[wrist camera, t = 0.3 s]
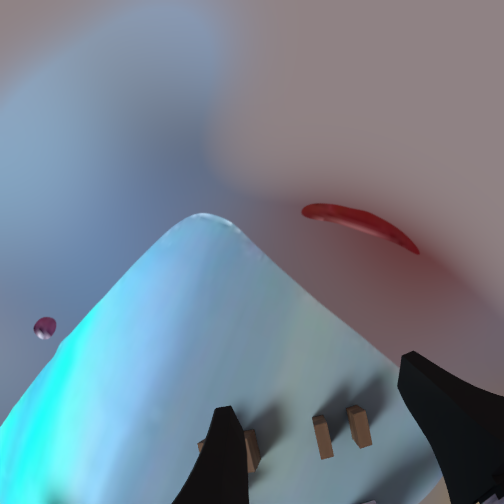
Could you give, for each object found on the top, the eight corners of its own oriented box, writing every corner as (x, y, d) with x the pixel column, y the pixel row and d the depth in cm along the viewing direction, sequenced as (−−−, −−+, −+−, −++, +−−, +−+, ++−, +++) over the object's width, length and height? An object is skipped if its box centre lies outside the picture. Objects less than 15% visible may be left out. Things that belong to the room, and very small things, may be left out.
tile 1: (356, 404, 35) (365, 410, 29) (362, 434, 32) (372, 444, 27) (345, 408, 35) (353, 414, 29) (352, 438, 33) (360, 448, 27)
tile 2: (322, 414, 35) (326, 422, 29) (329, 444, 33) (333, 456, 27) (311, 417, 35) (313, 425, 30) (318, 447, 33) (321, 459, 27)
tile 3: (254, 429, 35) (246, 438, 30) (261, 458, 33) (254, 471, 28) (243, 430, 36) (234, 440, 30) (250, 460, 34) (242, 473, 28)
